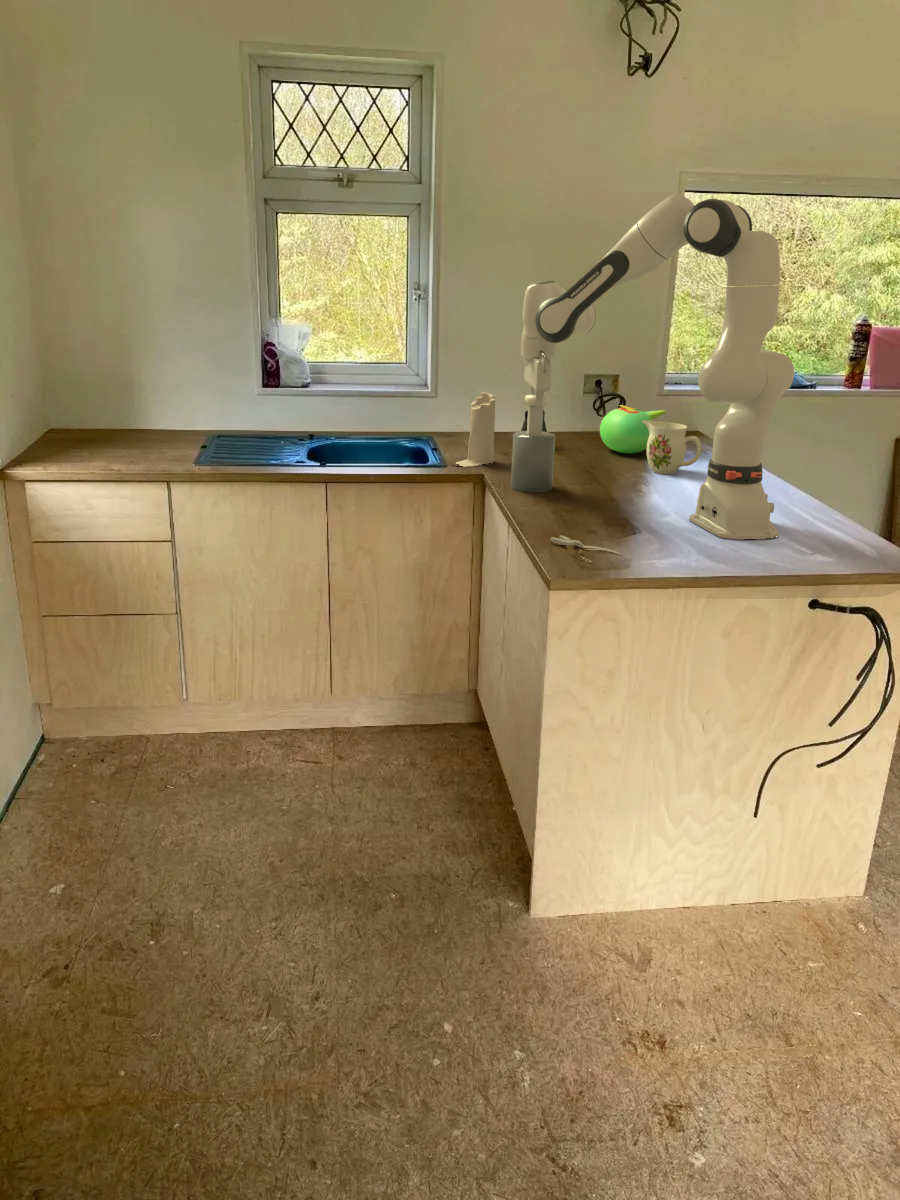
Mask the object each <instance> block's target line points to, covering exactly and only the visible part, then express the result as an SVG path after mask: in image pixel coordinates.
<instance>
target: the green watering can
mask: <svg viewBox="0 0 900 1200" xmlns="http://www.w3.org/2000/svg"><path fill="white" fill-rule="evenodd" d="M666 413H667V411H666V410H663V409H662V410H661V409H660V410H658V409H657V410H650V411H643V410H641V409H639V408H636V407H631V406H626V405H622V404H620V405H619V407H618V408H615V409H613V410H610V411H609V412H608V413H607V414H606V415H604V417H603V418H602V420H601V422H600V425H599V435H600V438H601V440H602V442H603V444H605V445H606V447H608V448H609V449H611V450H612V451H615V452H616V453H617V452H618V453H622V454H627V455H628V454H630V455H631V454H638V453H640V452H643V451H645V450H647V442H648V438H649V435H650V434H649V430H648V428H647V426H646V425H645V424H644V423H643V422H642V420H650V421H654V419H656V418H659V417H661V416H663V415H665V414H666Z"/></svg>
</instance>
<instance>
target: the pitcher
mask: <svg viewBox="0 0 900 1200" xmlns="http://www.w3.org/2000/svg"><path fill="white" fill-rule="evenodd" d="M642 422H643V423H644V424H645V425H646V426H647V428H648V430H649V434H650V435H649V438H648V442H647V448H646V457H647V458H646V459H647V463H648V466H649V467H650V469H651V471H652V472H653V473H655V474H659V475H674V474H676V472H677V471H678V470H679V469H680V468H681V467H687V466H691V465H693V464H694V463H696V462H697V461H699V458H700V457H701V453H702V443H701V441H700V440H701V439H699V438H698V436H694V435H689V436H686V432H687V430H688V426H687V425H686V424H682V423H677V422H669V421H658V420H653V421H650V420H642ZM690 441H692V442H694V444H695V445H696V453H695V455H694V457H693V458H691V459H689V460H687V461H685V460H684V459H685V455H686V451H687V442H690Z"/></svg>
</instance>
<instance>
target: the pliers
mask: <svg viewBox="0 0 900 1200" xmlns="http://www.w3.org/2000/svg"><path fill="white" fill-rule="evenodd" d="M550 541H552V542H555V543H558V544H561V545H563V546H564V545H566V546H572V545H575V547H577V546H578V547H582V548H591V549H586V550H603V551H602V552H604V551H607V552H606V553H608V552H613V553H616V554H619V555H621V556H623V553H621V552H619V551H616V550H613V549H610V548H605V547H601V546H595V545H585V544H584V543H583V542H581V541H580V540H576V539H571V538H569V537H567V536H565V535H562V534H561V535H559V537H553V536H552V537H550V539H549V542H550ZM580 551H582V549H580V550H579V552H580ZM616 554H615V555H616ZM619 555H618V556H619ZM581 557H582V558H583V559H586V561H587V560H588V559H587V558H585V557H583V556H581ZM589 562H593V561H591V560H589Z"/></svg>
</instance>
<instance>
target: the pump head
mask: <svg viewBox="0 0 900 1200" xmlns="http://www.w3.org/2000/svg"><path fill="white" fill-rule="evenodd" d="M534 399H535V395H530V394H527V395H525V396H524V405H525V406H528V405H529V406H533V407H535V405H534ZM547 405H548V396H547V395H544V396H543V400H542V406H543V407H544V406H547Z"/></svg>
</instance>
